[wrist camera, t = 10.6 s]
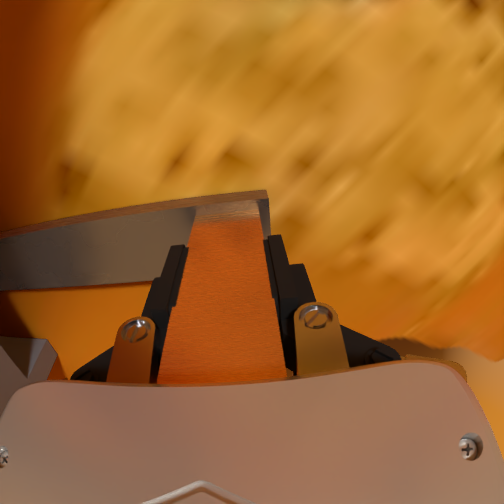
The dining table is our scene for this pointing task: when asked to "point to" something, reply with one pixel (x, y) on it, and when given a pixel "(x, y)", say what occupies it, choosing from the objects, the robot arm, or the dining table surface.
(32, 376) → the grey bridge block
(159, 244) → the scraper
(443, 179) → the dining table surface
